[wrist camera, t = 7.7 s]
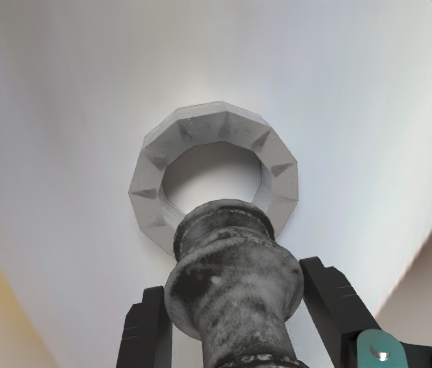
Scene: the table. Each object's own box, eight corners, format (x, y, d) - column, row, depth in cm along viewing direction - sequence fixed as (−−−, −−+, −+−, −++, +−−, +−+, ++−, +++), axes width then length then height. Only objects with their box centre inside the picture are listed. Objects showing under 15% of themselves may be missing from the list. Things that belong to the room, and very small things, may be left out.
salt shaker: (276, 281, 17) (435, 691, 6) (172, 290, 17) (155, 753, 6) (284, 189, 15) (576, 621, 4) (161, 197, 14) (98, 721, 3)
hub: (117, 119, 20) (108, 132, 17) (280, 90, 20) (295, 98, 18) (161, 260, 26) (159, 287, 23) (288, 236, 26) (300, 259, 23)
